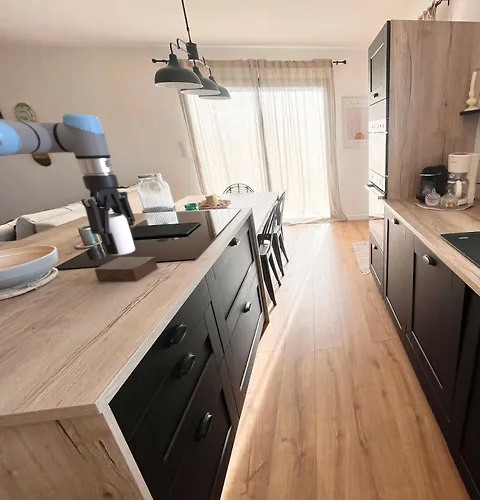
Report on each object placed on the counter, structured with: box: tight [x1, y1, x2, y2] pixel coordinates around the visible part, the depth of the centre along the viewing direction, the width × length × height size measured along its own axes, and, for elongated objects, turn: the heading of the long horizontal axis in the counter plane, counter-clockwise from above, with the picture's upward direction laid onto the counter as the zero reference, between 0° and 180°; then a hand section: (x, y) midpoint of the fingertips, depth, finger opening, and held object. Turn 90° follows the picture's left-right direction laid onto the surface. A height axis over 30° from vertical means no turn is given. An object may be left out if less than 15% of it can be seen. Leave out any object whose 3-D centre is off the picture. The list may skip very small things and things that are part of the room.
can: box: [103, 212, 136, 257], centre depth 88 cm, size 6×6×12 cm
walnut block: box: [94, 256, 159, 282], centre depth 92 cm, size 12×10×4 cm
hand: (122, 249), depth 90 cm, fingers closed on can, 6 cm apart
